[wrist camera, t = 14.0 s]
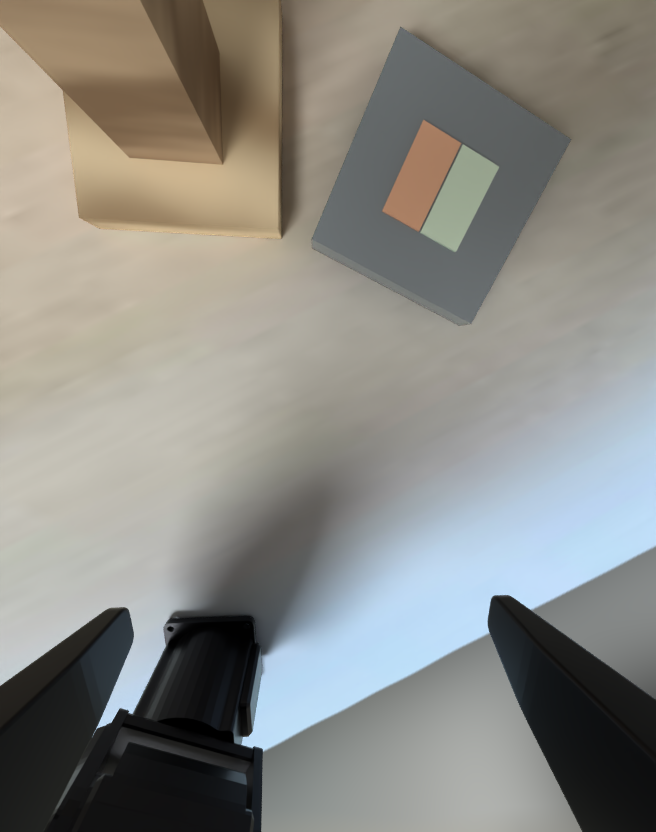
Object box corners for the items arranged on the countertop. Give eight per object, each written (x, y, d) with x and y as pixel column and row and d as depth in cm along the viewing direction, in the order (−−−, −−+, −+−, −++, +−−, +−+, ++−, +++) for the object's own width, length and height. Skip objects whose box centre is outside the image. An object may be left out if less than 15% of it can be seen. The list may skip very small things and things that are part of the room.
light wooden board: (281, 238, 17) (278, 229, 16) (99, 228, 17) (79, 217, 15) (282, 17, 15) (278, -19, 14) (72, -3, 15) (46, -42, 13)
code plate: (459, 325, 19) (472, 323, 17) (311, 248, 18) (311, 238, 16) (549, 157, 17) (573, 137, 15) (392, 56, 16) (401, 23, 14)
